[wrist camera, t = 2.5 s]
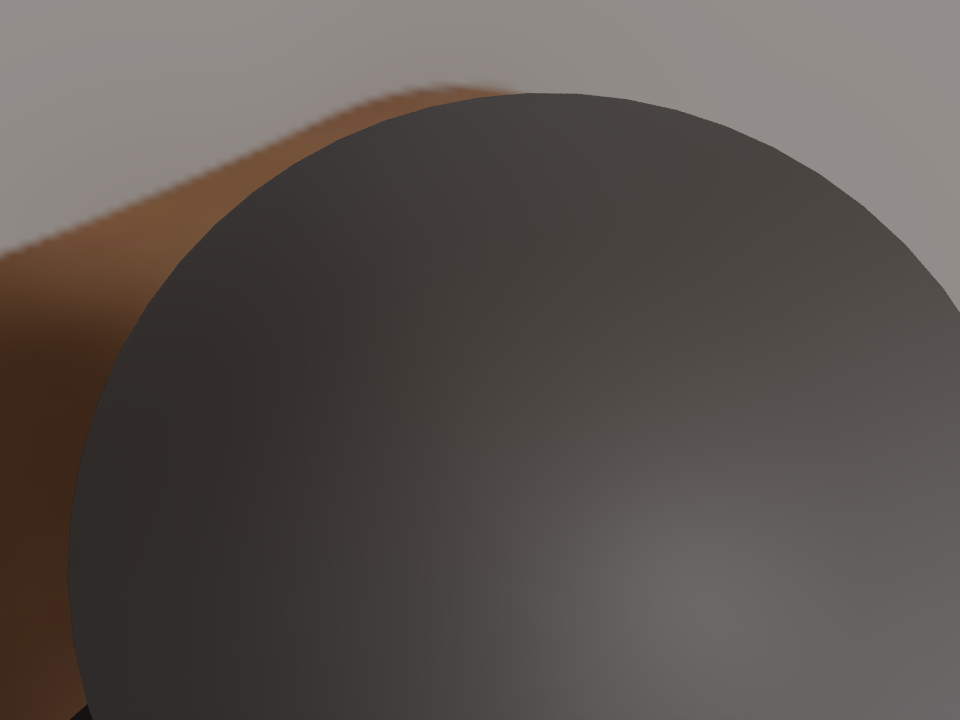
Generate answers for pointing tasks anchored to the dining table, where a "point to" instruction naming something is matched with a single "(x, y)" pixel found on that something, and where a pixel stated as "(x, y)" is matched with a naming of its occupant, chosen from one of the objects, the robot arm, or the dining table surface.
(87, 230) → the dining table surface
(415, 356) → the pepper mill
